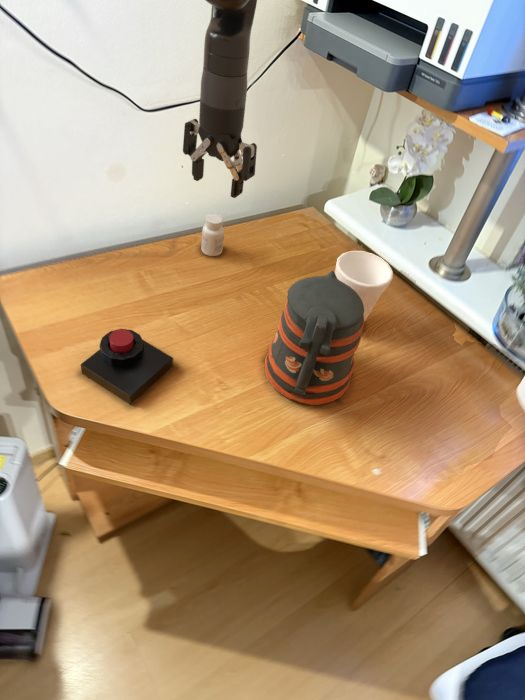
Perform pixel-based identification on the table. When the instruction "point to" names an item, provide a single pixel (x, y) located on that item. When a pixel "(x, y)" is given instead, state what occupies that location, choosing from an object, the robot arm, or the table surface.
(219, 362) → the table surface
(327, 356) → the beer stein
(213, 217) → the pill bottle
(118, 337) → the lid button
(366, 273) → the cup
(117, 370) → the push button housing
